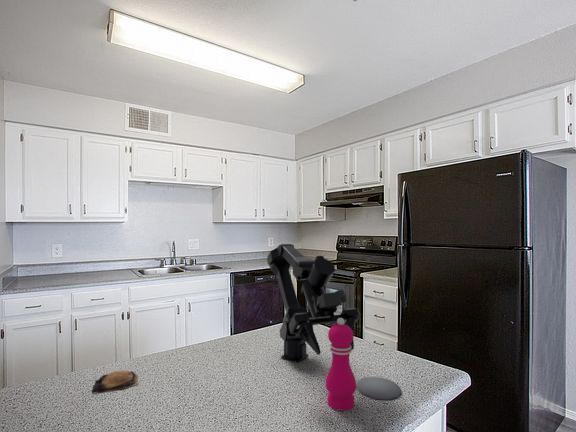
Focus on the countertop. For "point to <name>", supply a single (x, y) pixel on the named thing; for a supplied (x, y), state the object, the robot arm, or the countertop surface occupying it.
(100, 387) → the brown oval lump
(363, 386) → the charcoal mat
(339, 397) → the pepper mill
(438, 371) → the countertop surface
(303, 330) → the robot arm
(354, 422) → the countertop surface
